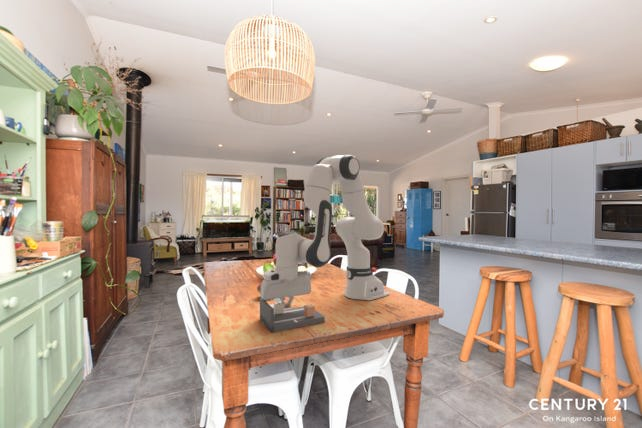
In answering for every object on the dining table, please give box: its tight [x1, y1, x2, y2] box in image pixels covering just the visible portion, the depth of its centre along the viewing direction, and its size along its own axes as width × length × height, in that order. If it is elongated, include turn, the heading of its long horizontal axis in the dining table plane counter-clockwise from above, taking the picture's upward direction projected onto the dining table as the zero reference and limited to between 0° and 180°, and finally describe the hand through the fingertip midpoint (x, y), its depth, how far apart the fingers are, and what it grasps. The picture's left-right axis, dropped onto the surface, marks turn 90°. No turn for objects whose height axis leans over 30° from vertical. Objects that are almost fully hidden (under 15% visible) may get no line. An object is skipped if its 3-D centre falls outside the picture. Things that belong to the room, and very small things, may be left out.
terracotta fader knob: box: [303, 303, 316, 317], centre depth 109 cm, size 3×3×4 cm
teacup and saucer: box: [269, 298, 281, 309], centre depth 126 cm, size 9×8×4 cm
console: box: [259, 297, 326, 333], centre depth 110 cm, size 21×15×8 cm
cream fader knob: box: [273, 302, 285, 314], centre depth 112 cm, size 3×3×4 cm
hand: (286, 307), depth 113 cm, fingers closed
